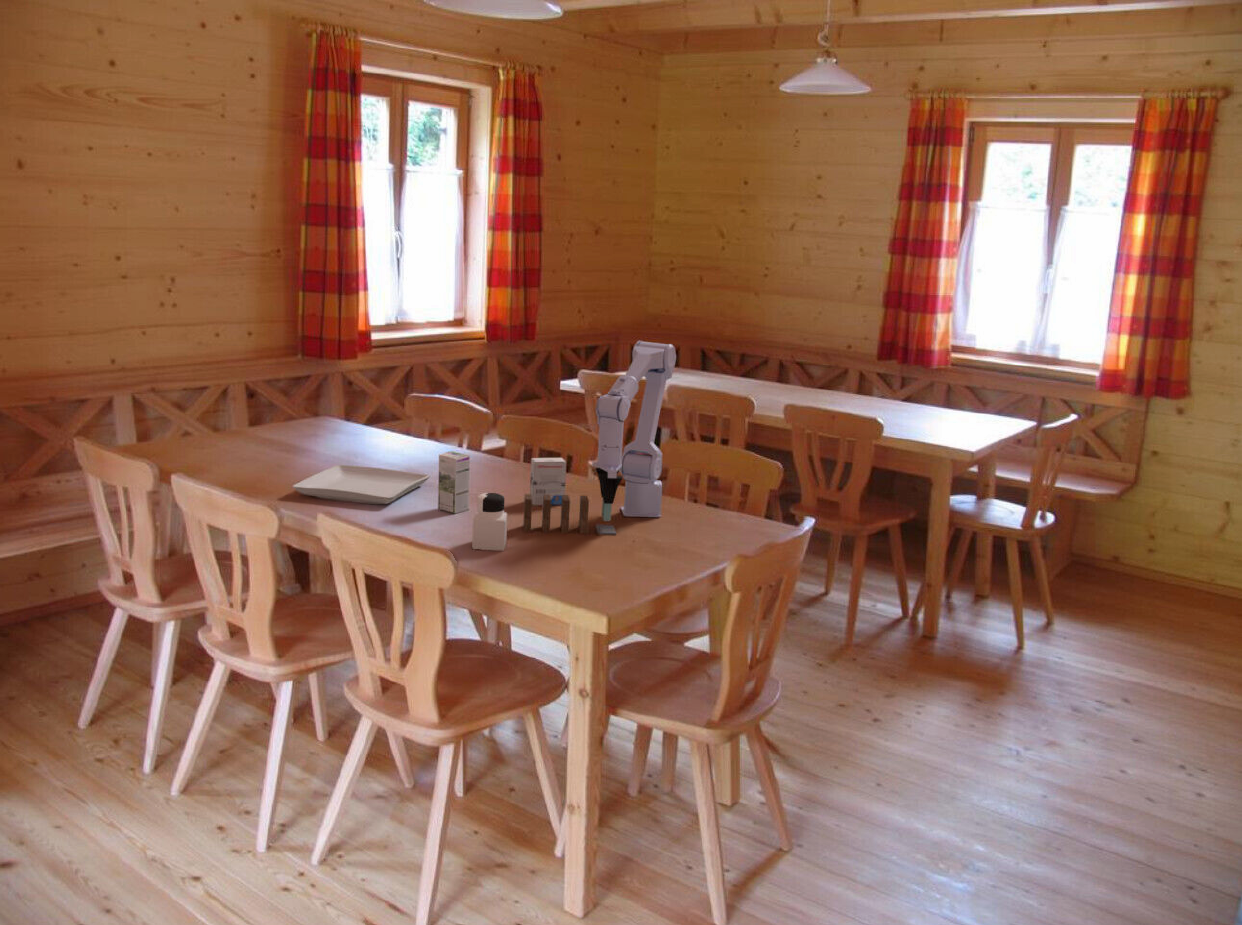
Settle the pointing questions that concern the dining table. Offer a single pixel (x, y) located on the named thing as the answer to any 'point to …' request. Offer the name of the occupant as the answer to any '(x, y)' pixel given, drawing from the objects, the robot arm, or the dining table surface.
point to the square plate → (360, 484)
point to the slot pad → (605, 529)
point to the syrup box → (453, 482)
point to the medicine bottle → (490, 523)
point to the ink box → (547, 479)
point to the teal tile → (606, 511)
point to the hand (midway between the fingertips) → (607, 500)
